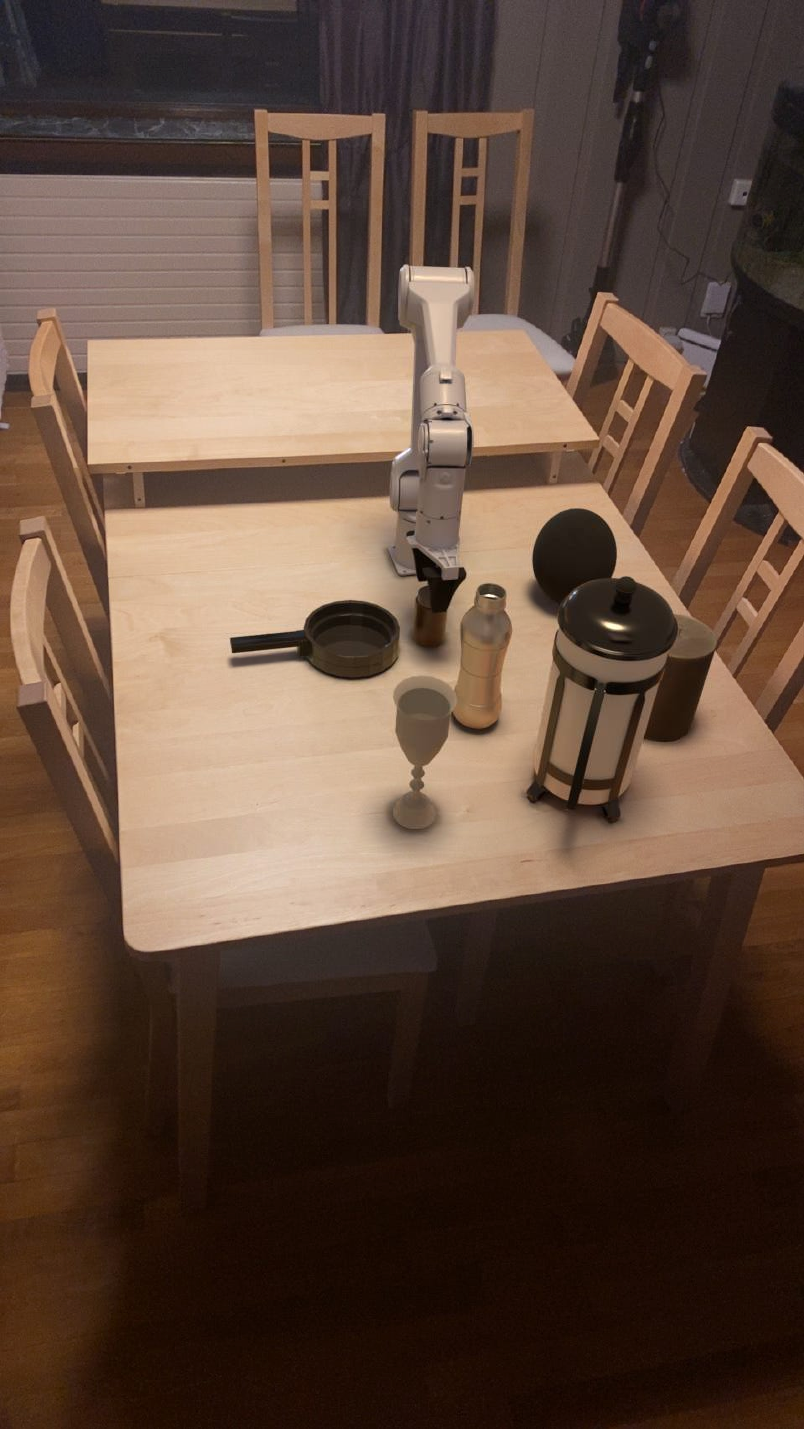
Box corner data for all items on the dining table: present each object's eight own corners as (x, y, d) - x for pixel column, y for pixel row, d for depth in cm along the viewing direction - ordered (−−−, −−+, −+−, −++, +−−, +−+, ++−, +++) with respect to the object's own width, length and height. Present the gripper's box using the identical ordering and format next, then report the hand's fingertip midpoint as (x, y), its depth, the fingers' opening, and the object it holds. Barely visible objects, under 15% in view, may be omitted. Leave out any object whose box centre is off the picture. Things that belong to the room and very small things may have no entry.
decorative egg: (622, 612, 151) (643, 526, 142) (553, 630, 147) (570, 542, 137) (577, 570, 160) (594, 486, 150) (510, 586, 155) (524, 500, 145)
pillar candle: (685, 749, 129) (715, 658, 119) (611, 729, 131) (634, 637, 121) (696, 704, 136) (725, 614, 126) (625, 686, 138) (648, 596, 128)
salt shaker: (439, 627, 146) (443, 582, 141) (448, 645, 143) (452, 600, 138) (409, 630, 145) (412, 585, 140) (416, 649, 142) (420, 604, 137)
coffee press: (490, 758, 126) (521, 555, 106) (598, 730, 131) (648, 530, 111) (558, 858, 114) (608, 649, 94) (674, 822, 119) (745, 617, 99)
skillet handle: (306, 645, 140) (306, 629, 138) (309, 656, 138) (309, 640, 136) (230, 653, 138) (229, 636, 136) (233, 664, 136) (231, 648, 134)
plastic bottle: (466, 741, 128) (483, 613, 115) (440, 709, 132) (454, 582, 119) (508, 727, 130) (530, 600, 117) (482, 696, 135) (500, 571, 122)
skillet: (386, 618, 147) (387, 596, 144) (408, 674, 137) (409, 651, 135) (297, 627, 144) (297, 604, 142) (313, 685, 135) (313, 661, 132)
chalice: (383, 791, 120) (390, 675, 108) (439, 790, 121) (452, 675, 109) (387, 837, 115) (395, 720, 103) (446, 835, 116) (460, 719, 104)
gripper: (396, 483, 135) (392, 569, 143) (423, 540, 124) (416, 628, 133) (447, 480, 136) (439, 565, 145) (478, 535, 126) (467, 623, 134)
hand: (431, 595), depth 139 cm, fingers open, 7 cm apart
